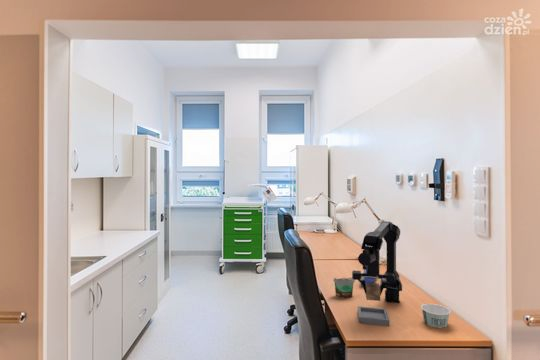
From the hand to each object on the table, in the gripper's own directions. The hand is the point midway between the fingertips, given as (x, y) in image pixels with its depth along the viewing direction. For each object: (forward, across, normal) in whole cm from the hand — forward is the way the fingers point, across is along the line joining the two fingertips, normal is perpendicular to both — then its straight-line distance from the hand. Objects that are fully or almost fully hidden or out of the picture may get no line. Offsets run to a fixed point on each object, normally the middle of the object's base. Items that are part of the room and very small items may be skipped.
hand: (372, 294), depth 151 cm
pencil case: (+11, -2, -53) cm, 54 cm away
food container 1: (+11, +12, -25) cm, 30 cm away
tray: (+11, 0, 0) cm, 11 cm away
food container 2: (+11, -27, -1) cm, 29 cm away
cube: (+2, 0, 0) cm, 2 cm away
